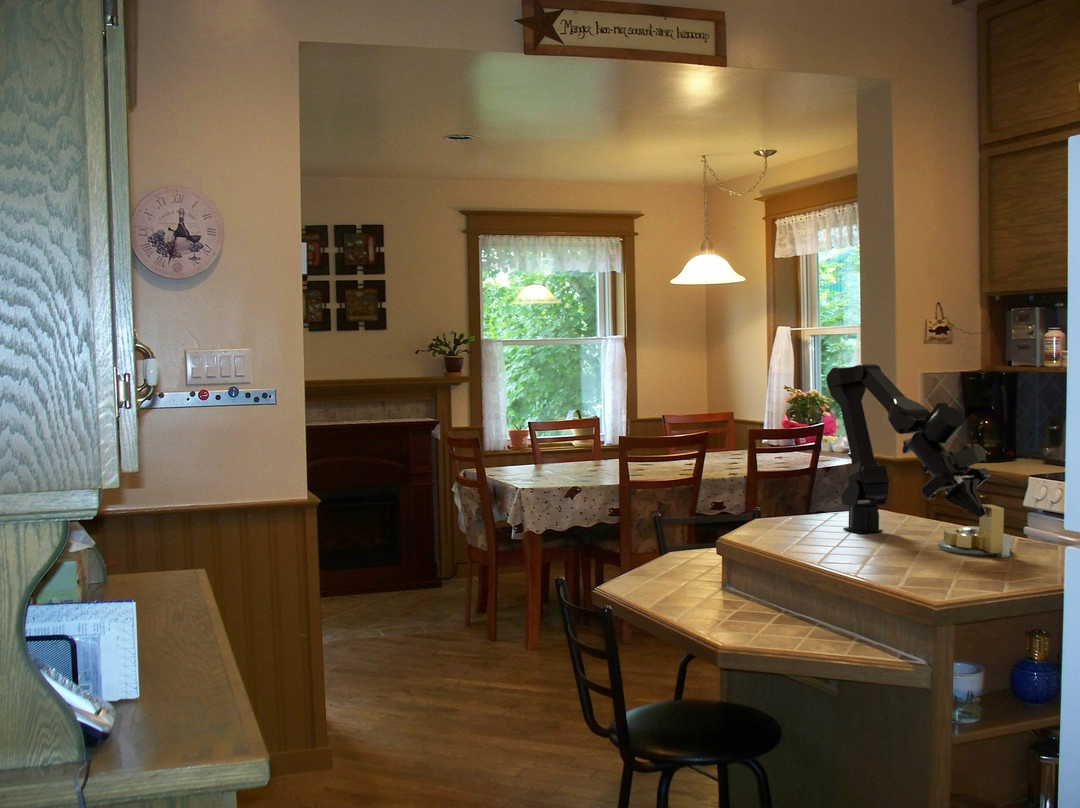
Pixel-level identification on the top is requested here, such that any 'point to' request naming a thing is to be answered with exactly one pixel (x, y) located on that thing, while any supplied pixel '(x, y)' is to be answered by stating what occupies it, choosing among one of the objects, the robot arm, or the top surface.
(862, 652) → the top surface
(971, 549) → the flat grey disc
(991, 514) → the beige block cluster
